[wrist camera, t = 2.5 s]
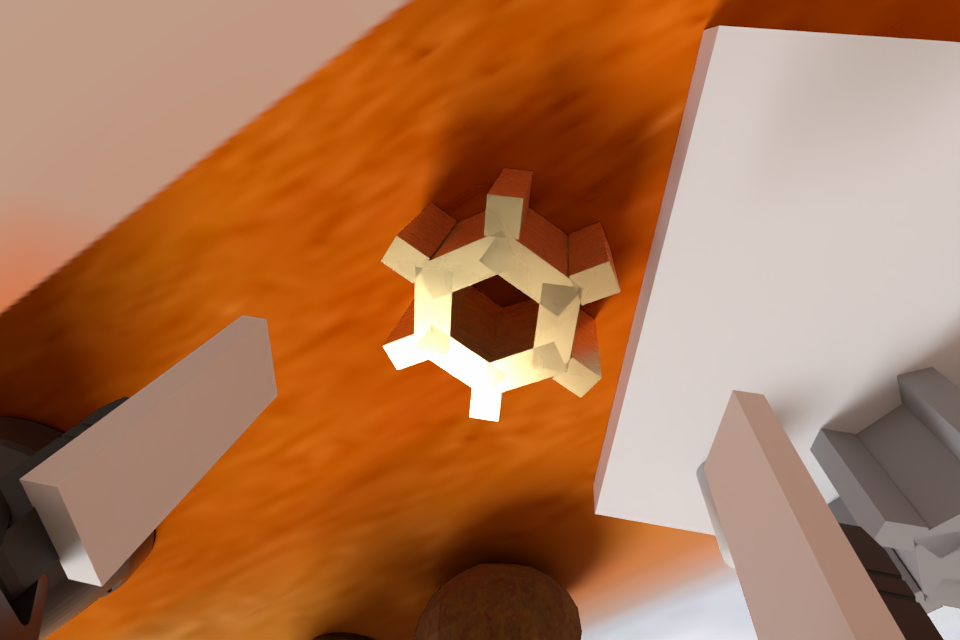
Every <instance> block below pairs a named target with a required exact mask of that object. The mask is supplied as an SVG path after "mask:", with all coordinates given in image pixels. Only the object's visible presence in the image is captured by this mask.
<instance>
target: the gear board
mask: <svg viewBox="0 0 960 640" xmlns="http://www.w3.org/2000/svg"><path fill="white" fill-rule="evenodd" d="M733 390H737V391H744V392H751V393H757V394H764V396H765V398H766V399H767V401H768V403H769V405H770V406H771V408H772V410H773V411H774V413H775V415H776V417H777V418H778V420H779V422H780V424H781V425H782V427H783V429H784V430H785V432H786V434H787V436H788V437H789V439H790V441H791V443H792V444H793V446H794V448H795V449H796V451H797V453H798V455H799V456H800V458H801V460H802V461H803V463H804V465H805V467H806V468H807V470H808V472H809V474H810V475H811V477H812V479H813V480H814V482H815V484H816V486H817V487H818V489H819V491H820V493H821V494H822V496H823V498H824V499H825V501H826V503H827V505H828V506H829V508H830V510H831V512H832V513H833V515H834V517H835V518H836V520H837V522H838V523H843V524H849V525H854V526H860V527H862V528H863V529H864V530H865V531H866V532H867V533H868V534H869V535H870V536H871V537H872V538H873V539H874V540H875V541H876V542H878V543H879V544H880V545H881V546H882V547H883V548H884V549H885V550H886V552H887V553H888V555H889V556H890V558H891V559H892V561H893V562H894V564H895V565H896V567H897V569H898V570H899V572H900V573H901V575H902V580H904V581H906V582H907V584H908V586H909V587H910V589H911V590H912V592H913V593H914V595H915V596H916V598H915V599H916V602H919V603H920V604H921V606H922V607H923V609H924V610H925V612H926V613H930V612H932V611H934V610H936V609H939V608H941V607H943V606H942V605H944V606H949V607H955V608H960V42H950V41H936V40H922V39H907V38H893V37H878V36H864V35H849V34H835V33H820V32H806V31H791V30H777V29H762V28H748V27H733V26H716V27H713V28H709V29H706V30H704V32H703V36H702V40H701V44H700V48H699V52H698V56H697V60H696V65H695V69H694V73H693V77H692V81H691V85H690V89H689V93H688V98H687V102H686V106H685V110H684V114H683V118H682V122H681V126H680V130H679V135H678V139H677V143H676V147H675V151H674V155H673V159H672V163H671V167H670V172H669V176H668V180H667V184H666V188H665V192H664V196H663V200H662V205H661V209H660V213H659V217H658V221H657V225H656V229H655V233H654V237H653V242H652V246H651V250H650V254H649V258H648V262H647V266H646V270H645V274H644V279H643V283H642V287H641V291H640V295H639V299H638V303H637V307H636V312H635V316H634V320H633V324H632V328H631V332H630V336H629V340H628V344H627V349H626V353H625V357H624V361H623V365H622V369H621V373H620V377H619V381H618V386H617V390H616V394H615V398H614V402H613V406H612V410H611V414H610V418H609V423H608V427H607V431H606V435H605V439H604V443H603V447H602V451H601V456H600V460H599V464H598V468H597V472H596V476H595V480H594V484H593V490H594V507H595V514H598V515H604V516H609V517H615V518H621V519H626V520H632V521H638V522H644V523H649V524H655V525H661V526H666V527H672V528H678V529H683V530H689V531H695V532H700V533H706V534H712V535H715V536H716V539H717V542H718V545H719V548H720V551H721V554H722V558H723V560H724V562H725V563H726V564H727V565H728V566H729V567H731V568H733V569H736V568H735V565H734V562H733V559H732V556H731V553H730V550H729V547H728V544H727V540H726V537H725V534H724V531H723V528H722V525H721V522H720V519H719V515H718V512H717V509H716V506H715V503H714V500H713V497H712V494H711V491H710V487H709V484H708V481H707V478H706V475H705V472H704V469H703V468H704V465H705V462H706V460H707V457H708V455H709V452H710V449H711V447H712V444H713V441H714V439H715V436H716V433H717V431H718V428H719V425H720V423H721V420H722V417H723V415H724V412H725V410H726V407H727V404H728V402H729V399H730V396H731V394H732V391H733Z"/></svg>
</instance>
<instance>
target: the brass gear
mask: <svg viewBox="0 0 960 640" xmlns="http://www.w3.org/2000/svg"><path fill="white" fill-rule="evenodd" d="M532 175H533V171H527V170H518V169H508V168H504V169H503V171H502V172H501V174H500V175H499V177H498V178H497V180H496V182H495V183H494V185H493V186H492V188H491V189H490V191H489V192H488V194H487V201H486V210H485V211H483V212H481V213H478V214H476V215H474V216H472V217H469V218H467V219H465V220H463V221H460V222H458V223H456V222H457V220H455V219H454V218H452V217H451V216H450V215H448V214H447V213H445V212H444V211H443V210H441V209H440V208H438V207H437V206H436V205H434V204H433V203H430V204H429V205H428V206H427V207H426V208H425V209H424V210H423V211H422V212H421V213H420V214H419V215H418V216H417V217H415V218H414V219H413V220H412V221H411V222H410V223H409V224H408V225H407V226H406V227H405V228H404V229H403V230H402V231H401V232H400V233H399V234H398V235H397V236H396V237H395V239H394V241H393V242H392V244H391V245H390V247H389V249H388V250H387V252H386V254H385V255H384V257H383V258H382V260H381V262H382V263H384V264H385V265H387V266H388V267H390V268H391V269H393V270H394V271H396V272H397V273H399V274H400V275H401V276H403V277H404V278H406V279H407V280H409V281H410V282H412V283H414V281H415V299H414V300H413V302H412V303H411V305H410V306H409V307H408V309H407V310H406V312H405V313H404V315H403V316H402V318H401V319H400V321H399V322H398V324H397V325H396V327H395V328H394V330H393V331H392V333H391V334H390V336H389V337H388V339H387V340H386V342H385V343H384V345H383V347H384V349H385V351H386V352H387V354H388V356H389V357H390V359H391V361H392V362H393V364H394V365H395V367H396V369H397V370H399V369H402V368H405V367H408V366H411V365H413V364H416V363H419V362H422V361H425V360H427V359H429V360H431V361H432V362H434V363H435V364H437V365H438V366H440V367H441V368H443V369H444V370H446V371H447V372H449V373H450V374H452V375H453V376H455V377H456V378H458V379H460V380H461V381H463V382H464V383H466V384H467V385H469V386H470V387H472V392H471V405H470V417H472V418H478V419H485V420H491V421H497V422H498V420H499V415H500V410H501V405H502V400H503V395H504V391H507V390H510V389H514V388H517V387H520V386H523V385H527V384H530V383H533V382H536V381H540V380H543V379H546V378H549V377H552V379H554V380H555V381H557V382H558V383H560V384H561V385H563V386H564V387H566V388H567V389H569V390H570V391H571V392H573V393H574V394H576V395H577V396H579V397H580V398H581V397H582V396H583V395H584V394H585V393H586V392H587V391H589V390H590V389H591V388H592V387H593V386H594V385H595V384H596V383H597V382H598V381H599V380H600V379H601V369H600V360H599V351H598V342H597V333H596V324H595V319H594V318H593V317H591V316H590V315H588V314H587V313H586V312H584V311H583V310H581V309H580V308H579V307H580V303H581V305H585V304H588V303H590V302H593V301H596V300H599V299H602V298H605V297H608V296H610V295H613V294H616V293H619V292H621V291H620V287H619V283H618V279H617V275H616V271H615V266H614V262H613V258H612V254H611V250H610V246H609V243H608V241H607V238H606V236H605V233H604V230H603V228H602V225H601V222H597V223H595V224H593V225H590V226H588V227H585V228H583V229H580V230H578V231H575V232H573V233H570V234H569V236H568V235H567V234H565V233H564V232H563V231H561V230H560V229H559V228H557V227H556V226H555V225H553V224H552V223H551V222H549V221H548V220H546V219H545V218H544V217H542V216H541V215H540V214H538V213H537V212H536V211H534V210H533V209H532V208H530V207H529V200H530V192H531V183H532ZM495 275H499V276H501V277H502V278H503V279H505V280H506V281H508V282H509V283H511V284H512V285H513V286H515V287H516V288H518V289H519V290H520V291H522V292H523V293H525V294H526V295H528V296H529V297H530V298H531V299H528V300H525V301H522V302H520V303H517V304H514V305H512V306H509V307H506V308H503V307H501V306H500V305H498V304H497V303H496V302H494V301H493V300H491V299H490V298H488V297H487V296H486V295H484V294H483V293H481V292H480V291H478V290H477V289H475V288H474V287H473V286H472V284H475V283H477V282H480V281H482V280H485V279H487V278H490V277H492V276H495Z"/></svg>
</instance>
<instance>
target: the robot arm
mask: <svg viewBox="0 0 960 640" xmlns="http://www.w3.org/2000/svg"><path fill="white" fill-rule="evenodd" d="M276 396H277V388H276V381H275V374H274V367H273V360H272V354H271V347H270V340H269V333H268V326H267V319H263V318H257V317H250V316H244V315H242V316H241V317H239V318H238V319H237V320H235V321H234V322H233V323H231V324H230V325H228V326H227V327H226V328H224V329H223V330H222V331H220V332H219V333H218V334H216V335H215V336H213V337H212V338H211V339H209V340H208V341H207V342H205V343H204V344H203V345H201V346H200V347H199V348H197V349H196V350H194V351H193V352H192V353H190V354H189V355H188V356H186V357H185V358H184V359H182V360H181V361H179V362H178V363H177V364H175V365H174V366H173V367H171V368H170V369H169V370H167V371H166V372H165V373H163V374H162V375H160V376H159V377H158V378H156V379H155V380H154V381H152V382H151V383H150V384H148V385H147V386H145V387H144V388H143V389H141V390H140V391H139V392H137V393H136V394H135V395H133V396H132V397H131V398H129V397H123V398H121V399H119V400H116V401H114V402H112V403H110V404H108V405H105V406H103V407H101V408H99V409H98V410H96V411H95V412H93V413H92V414H91V415H89V416H88V417H86V418H85V419H83V420H82V421H81V422H79V425H78V426H74V427H72V428H71V429H69V430H68V431H67V432H65V433H64V434H63V433H61V432H59V431H57V430H54V429H52V428H50V427H47V426H44V425H41V424H38V423H35V422H32V421H28V420H23V419H18V418H11V417H0V640H43V639H45V638H46V637H47V636H49V635H50V634H52V633H53V632H54V631H56V630H57V629H59V628H60V627H61V626H63V625H64V624H65V623H67V622H68V621H70V620H71V619H72V618H74V617H75V616H76V615H78V614H79V613H80V612H82V611H83V610H84V609H86V608H87V607H88V606H90V605H91V604H92V603H93V602H95V601H96V600H97V599H99V598H100V597H103V596H106V595H108V594H110V593H111V592H113V591H114V590H116V589H117V588H119V587H120V586H121V585H122V584H123V583H124V582H126V581H127V580H128V578H129V577H130V576H131V575H132V574H133V573H134V572H135V570H136V569H137V568H138V567H139V566H140V565H141V564H142V562H143V561H144V560H145V559H146V558H147V556H148V555H149V554H150V552H151V549H152V546H153V542H154V530H155V528H156V527H157V526H158V525H159V524H160V523H161V522H162V521H163V520H164V519H165V518H166V516H167V515H168V514H169V513H170V512H171V511H172V510H173V509H174V508H175V507H176V506H177V504H178V503H179V502H180V501H181V500H182V499H183V498H184V497H185V496H186V495H187V494H188V492H189V491H190V490H191V489H192V488H193V487H194V486H195V485H196V484H197V483H198V482H199V480H200V479H201V478H202V477H203V476H204V475H205V474H206V473H207V472H208V471H209V470H210V468H211V467H212V466H213V465H214V464H215V463H216V462H217V461H218V460H219V459H220V458H221V456H222V455H223V454H224V453H225V452H226V451H227V450H228V449H229V448H230V447H231V446H232V444H233V443H234V442H235V441H236V440H237V439H238V438H239V437H240V436H241V435H242V434H243V432H244V431H245V430H246V429H247V428H248V427H249V426H250V425H251V424H252V423H253V422H254V420H255V419H256V418H257V417H258V416H259V415H260V414H261V413H262V412H263V411H264V410H265V408H266V407H267V406H268V405H269V404H270V403H271V402H272V401H273V400H274V399H275V398H276ZM703 469H704V472H705V475H706V478H707V481H708V484H709V487H710V491H711V494H712V497H713V500H714V503H715V506H716V509H717V512H718V515H719V519H720V522H721V525H722V528H723V531H724V534H725V537H726V540H727V544H728V547H729V550H730V553H731V556H732V559H733V562H734V565H735V568H736V572H737V575H738V578H739V581H740V584H741V587H742V590H743V593H744V597H745V600H746V603H747V606H748V609H749V612H750V615H751V618H752V621H753V625H754V628H755V631H756V634H757V637H758V640H943V638H942V637H941V635H940V634H939V632H938V630H937V629H936V627H935V626H934V624H933V623H932V621H931V620H930V618H929V617H928V615H927V613H926V612H925V610H924V609H923V607H922V606H921V604H920V603H919V602H916V599H915V598H916V596H915V595H914V593H913V592H912V590H911V589H910V587H909V586H908V584H907V582H906V581H904V580H902V575H901V573H900V572H899V570H898V569H897V567H896V565H895V564H894V562H893V561H892V559H891V558H890V556H889V555H888V553H887V552H886V550H885V549H884V548H883V547H882V546H881V545H880V544H879V543H878V542H876V541H875V540H874V539H873V538H872V537H871V536H870V535H869V534H868V533H867V532H866V531H865V530H864V529H863V528H862V527H860V526H854V525H849V524H843V523H838V522H837V520H836V518H835V517H834V515H833V513H832V512H831V510H830V508H829V506H828V505H827V503H826V501H825V499H824V498H823V496H822V494H821V493H820V491H819V489H818V487H817V486H816V484H815V482H814V480H813V479H812V477H811V475H810V474H809V472H808V470H807V468H806V467H805V465H804V463H803V461H802V460H801V458H800V456H799V455H798V453H797V451H796V449H795V448H794V446H793V444H792V443H791V441H790V439H789V437H788V436H787V434H786V432H785V430H784V429H783V427H782V425H781V424H780V422H779V420H778V418H777V417H776V415H775V413H774V411H773V410H772V408H771V406H770V405H769V403H768V401H767V399H766V398H765V396H764V394H757V393H751V392H744V391H737V390H733V391H732V394H731V396H730V399H729V402H728V404H727V407H726V410H725V412H724V415H723V417H722V420H721V423H720V425H719V428H718V431H717V433H716V436H715V439H714V441H713V444H712V447H711V449H710V452H709V455H708V457H707V460H706V462H705V465H704V468H703Z"/></svg>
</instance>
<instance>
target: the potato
mask: <svg viewBox="0 0 960 640" xmlns="http://www.w3.org/2000/svg"><path fill="white" fill-rule="evenodd" d="M581 633H582V630H581V624H580V618H579V612H578V608H577V606H576V604H575V603H574V601H573V600H572V598H571V596H570V595H569V593H568V592H567V591H566V590H565V589H563V588H562V587H561V586H560V585H559V584H558V583H557V582H556V581H555V580H554V579H553V578H551V577H550V576H548V575H547V574H545V573H543V572H541V571H539V570H537V569H535V568H533V567H530V566H523V565H517V564H497V563H491V564H477V565H475V566H473V567H471V568H469V569H467V570H465V571H463V572H461V573H459V574H458V575H456V576H454V577H453V578H452V579H451V580H449V581H448V582H447V583H445V584H444V585H443V586H442V587H441V588H440V589H439V590H438V591H437V592H435V593H434V595H433V596H432V598H431V600H430V601H429V603H428V604H427V606H426V608H425V610H424V612H423V613H422V615H421V617H420V619H419V622H418V625H417V628H416V631H415V635H414V638H413V640H581Z"/></svg>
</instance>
